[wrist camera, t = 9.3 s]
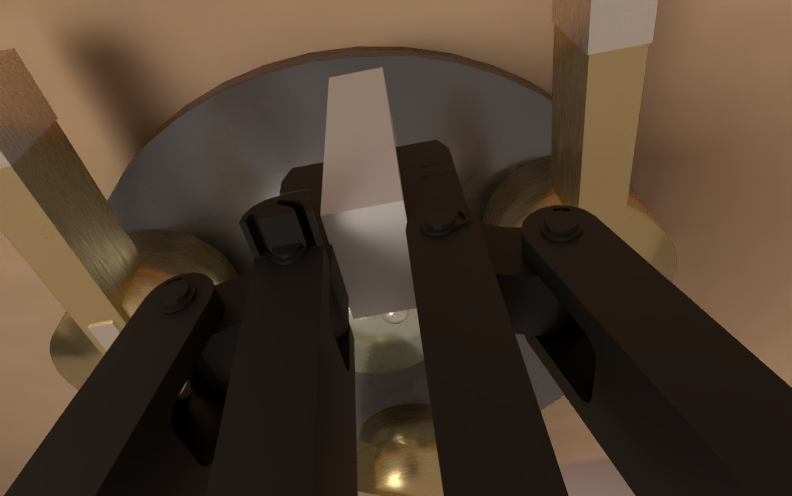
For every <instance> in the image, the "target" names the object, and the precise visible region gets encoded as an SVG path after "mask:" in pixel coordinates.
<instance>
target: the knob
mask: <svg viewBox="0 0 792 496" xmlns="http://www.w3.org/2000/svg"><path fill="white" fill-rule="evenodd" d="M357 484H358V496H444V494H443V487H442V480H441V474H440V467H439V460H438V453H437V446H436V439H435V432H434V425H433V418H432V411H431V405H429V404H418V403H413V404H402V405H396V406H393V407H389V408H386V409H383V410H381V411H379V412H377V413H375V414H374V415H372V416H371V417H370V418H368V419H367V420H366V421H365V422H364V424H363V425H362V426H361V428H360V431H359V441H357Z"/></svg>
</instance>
